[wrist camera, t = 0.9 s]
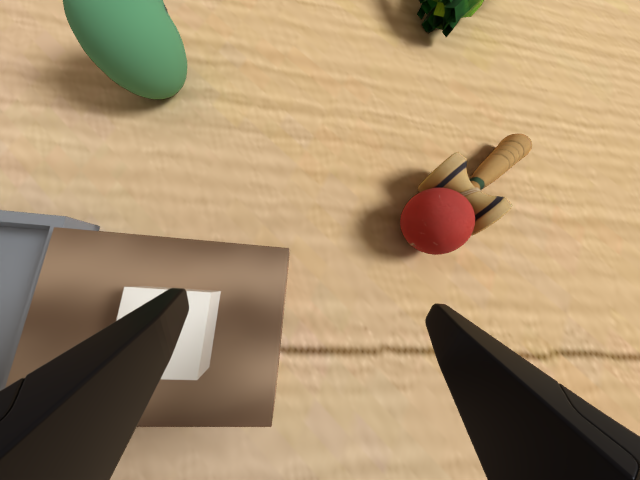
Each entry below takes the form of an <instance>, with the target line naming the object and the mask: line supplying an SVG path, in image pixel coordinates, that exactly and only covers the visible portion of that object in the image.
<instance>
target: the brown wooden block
mask: <svg viewBox="0 0 640 480" xmlns="http://www.w3.org/2000/svg"><path fill="white" fill-rule="evenodd" d="M288 264H289V248H280V247H269V246H258V245H247V244H236V243H225V242H214V241H203V240H192V239H181V238H170V237H159V236H147V235H136V234H125V233H114V232H103V231H92V230H81V229H70V228H59V227H54V229H53V232H52V236H51V239H50V242H49V245H48V249H47V252H46V255H45V259H44V262H43V265H42V268H41V272H40V275H39V278H38V282H37V285H36V288H35V291H34V295H33V298H32V301H31V304H30V308H29V311H28V314H27V318H26V321H25V324H24V327H23V331H22V334H21V337H20V341H19V344H18V347H17V350H16V354H15V357H14V360H13V364H12V367H11V370H10V373H9V377H8V380H7V383H6V387H7V386H9V385H11V384H12V383H14V382H16V381H17V380H19V379H21V378H25V377H26V375H27V374H29V373H31V372H32V371H34V370H36V369H37V368H39V367H41V366H42V365H44V364H46V363H47V362H49V361H51V360H52V359H54V358H56V357H57V356H59V355H61V354H62V353H64V352H65V351H67V350H69V349H70V348H72V347H74V346H75V345H77V344H79V343H80V342H82V341H84V340H85V339H87V338H89V337H90V336H92V335H94V334H95V333H97V332H99V331H100V330H102V329H104V328H105V327H107V326H109V325H110V324H112V323H114V322H115V321H116V320H117V316H118V311H119V307H120V303H121V299H122V294H123V290H124V287H131V286H152V287H167V288H184V289H197V290H212V291H221V293H220V300H219V307H218V313H217V320H216V326H215V333H214V339H213V346H212V353H211V359H210V366H209V368H208V369H207V370H206V371H205V372H204V373H203V375H202V376H201V377H200V378H199V379H198V380H168V379H160V381H159V383H158V385H157V387H156V389H155V391H154V393H153V395H152V397H151V399H150V401H149V403H148V405H147V407H146V409H145V411H144V413H143V415H142V417H141V419H140V421H139V423H138V425H137V427H271V426H272V418H273V411H274V403H275V395H276V385H277V375H278V365H279V355H280V345H281V335H282V324H283V314H284V304H285V294H286V284H287V274H288ZM6 387H5V388H6Z"/></svg>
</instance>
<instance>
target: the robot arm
mask: <svg viewBox="0 0 640 480" xmlns="http://www.w3.org/2000/svg"><path fill="white" fill-rule="evenodd" d="M188 312H189V302H188V297H187V292H186V290H185V289H184V288H170V289H168V290H167V291H165V292H163V293H162V294H160V295H158V296H157V297H155V298H153V299H152V300H150V301H148V302H147V303H145V304H143V305H142V306H140V307H138V308H137V309H135V310H133V311H132V312H130V313H128V314H127V315H125V316H123V317H122V318H120V319H119V320H117V321H115V322H114V323H112V324H110V325H109V326H107V327H105V328H104V329H102V330H100V331H99V332H97V333H95V334H94V335H92V336H90V337H89V338H87V339H85V340H84V341H82V342H80V343H79V344H77V345H75V346H74V347H72V348H70V349H69V350H67V351H65V352H64V353H62V354H61V355H59V356H57V357H56V358H54V359H52V360H51V361H49V362H47V363H46V364H44V365H42V366H41V367H39V368H37V369H36V370H34V371H32V372H31V373H29V374H27V375H26V377H25V378H21V379H19V380H17V381H16V382H14V383H12V384H11V385H9V386H7V387H6V388H4V389H2V390H1V391H0V480H110V478H111V476H112V474H113V472H114V470H115V468H116V466H117V464H118V462H119V460H120V458H121V456H122V454H123V452H124V450H125V448H126V446H127V444H128V442H129V440H130V438H131V436H132V434H133V432H134V430H135V429H136V427H137V425H138V423H139V421H140V419H141V417H142V415H143V413H144V411H145V409H146V407H147V405H148V403H149V401H150V399H151V397H152V395H153V393H154V391H155V389H156V387H157V385H158V383H159V381H160V379H161V377H162V375H163V373H164V371H165V369H166V367H167V365H168V363H169V361H170V359H171V357H172V354H173V352H174V349H175V347H176V344H177V341H178V339H179V336H180V333H181V331H182V328H183V325H184V323H185V320H186V318H187V315H188ZM425 322H426V327H427V330H428V333H429V336H430V339H431V342H432V345H433V349H434V352H435V355H436V358H437V361H438V364H439V366H440V369H441V371H442V373H443V376H444V378H445V380H446V383H447V385H448V388H449V390H450V392H451V395H452V397H453V399H454V402H455V404H456V406H457V409H458V411H459V413H460V416H461V418H462V420H463V423H464V425H465V428H466V430H467V432H468V435H469V437H470V439H471V442H472V444H473V446H474V449H475V451H476V453H477V456H478V458H479V460H480V463H481V465H482V467H483V470H484V472H485V475H486V477H487V479H488V480H640V436H638V435H637V434H635V433H633V432H632V431H630V430H629V429H627V428H626V427H624V426H623V425H621V424H620V423H618V422H616V421H615V420H613V419H612V418H610V417H609V416H607V415H606V414H604V413H603V412H601V411H600V410H598V409H597V408H595V407H594V406H592V405H591V404H589V403H588V402H586V401H585V400H583V399H582V398H580V397H579V396H577V395H576V394H575V393H573V392H572V391H570V390H569V389H567V388H566V387H564V386H563V385H562V384H558V382H557V381H556V380H554V379H553V378H551V377H550V376H548V375H547V374H546V373H544V372H543V371H541V370H540V369H538V368H537V367H535V366H534V365H533V364H531V363H530V362H528V361H527V360H525V359H524V358H522V357H521V356H520V355H518V354H517V353H515V352H514V351H512V350H511V349H509V348H508V347H507V346H505V345H504V344H502V343H501V342H499V341H498V340H496V339H495V338H493V337H492V336H491V335H489V334H488V333H486V332H485V331H483V330H482V329H480V328H479V327H478V326H476V325H475V324H473V323H472V322H470V321H469V320H467V319H466V318H465V317H463V316H462V315H460V314H459V313H457V312H456V311H454V310H453V309H452V308H450V307H449V306H447V305H445V304H434V305H433V306H432V307H431V309H430V311H429V313H428V315H427V317H426V320H425Z"/></svg>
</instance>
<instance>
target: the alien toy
mask: <svg viewBox="0 0 640 480" xmlns="http://www.w3.org/2000/svg"><path fill="white" fill-rule="evenodd" d="M63 5H64V10H65V14H66V17H67V20H68V23H69V25H70V27H71V29H72V31H73V33H74V34H75V36H76V38H77V40H78V42H79V43H80V45H81V47H82V48H83V49H84V51H85V52H86V54H87V55H88V56H89V57H90V58H91V60H92V61H93V62H94V63H95V64H96V65H97V66H98V67H99V68H100V69H101V70H102V71H103V72H104V73H105V74H106V75H107V76H108V77H109V78H111V79H112V80H113V81H114V82H116V83H117V84H118V85H120V86H122V87H123V88H125V89H127V90H128V91H130V92H132V93H134V94H136V95H139V96H142V97H146V98H149V99H165V98H169V97H171V96H173V95H175V94H176V93H178V91H179V90H180V89H181V88H182V87H183V84H184V82H185V80H186V75H187V58H186V54H185V49H184V46H183V42H182V39H181V37H180V34H179V32H178V30H177V28H176V26H175V25H174V23H173V21H172V20H171V18H170V16H169V15H168V12H167V9H166V7H165V5H164V3H163V0H63Z"/></svg>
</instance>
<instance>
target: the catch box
mask: <svg viewBox="0 0 640 480" xmlns="http://www.w3.org/2000/svg"><path fill="white" fill-rule="evenodd" d="M54 227H59V228H70V229H81V230H92V231H99V227H100V226H97V225H94V224H90V223H87V222H83V221H80V220H76V219H73V218H69V217H66V216H56V215H45V214H35V213H24V212H14V211H3V210H0V391H1V390H2V389H4V388H5V387H6V383H7V380H8V377H9V373H10V370H11V367H12V364H13V360H14V357H15V354H16V350H17V347H18V344H19V341H20V337H21V334H22V331H23V327H24V324H25V321H26V318H27V314H28V311H29V308H30V304H31V301H32V298H33V295H34V291H35V288H36V285H37V282H38V278H39V275H40V272H41V268H42V265H43V262H44V259H45V255H46V252H47V249H48V245H49V242H50V239H51V236H52V232H53V229H54Z"/></svg>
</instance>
